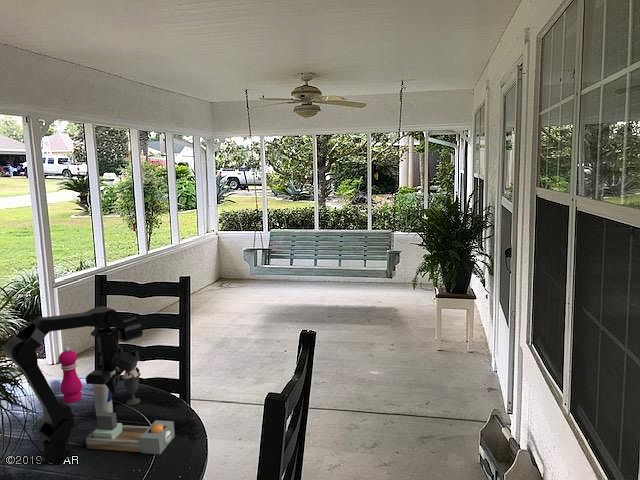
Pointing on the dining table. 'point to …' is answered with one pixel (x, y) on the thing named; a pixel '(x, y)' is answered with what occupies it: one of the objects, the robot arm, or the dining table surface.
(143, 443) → the cabinet
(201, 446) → the dining table surface
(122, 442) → the rail board
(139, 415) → the dining table surface
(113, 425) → the carriage
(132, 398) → the sundae
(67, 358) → the pepper mill
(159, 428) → the button
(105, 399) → the energy drink
